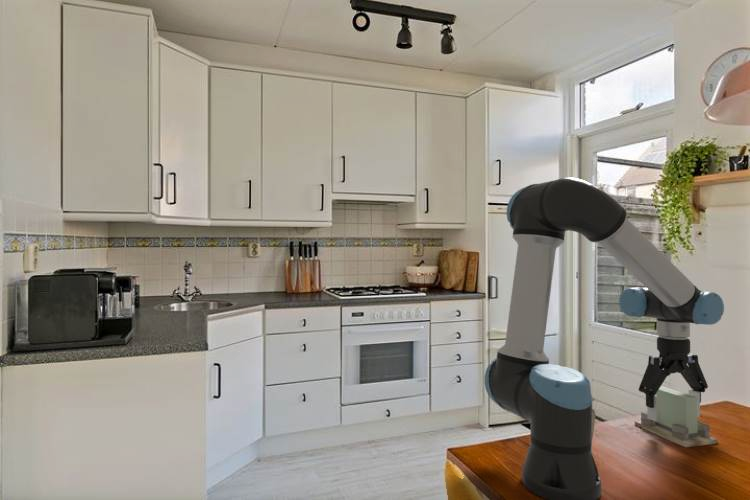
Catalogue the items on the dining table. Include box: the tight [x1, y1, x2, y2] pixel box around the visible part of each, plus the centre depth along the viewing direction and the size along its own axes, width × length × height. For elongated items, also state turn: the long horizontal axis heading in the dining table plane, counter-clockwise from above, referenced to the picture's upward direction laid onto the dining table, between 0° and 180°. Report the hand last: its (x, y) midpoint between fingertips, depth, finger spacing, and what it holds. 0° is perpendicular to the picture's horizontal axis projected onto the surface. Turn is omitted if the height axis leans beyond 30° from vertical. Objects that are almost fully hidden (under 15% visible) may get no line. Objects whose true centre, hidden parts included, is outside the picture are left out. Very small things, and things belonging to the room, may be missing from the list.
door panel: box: [651, 385, 699, 438], centre depth 126 cm, size 4×11×10 cm, turn 15°
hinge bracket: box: [634, 411, 719, 448], centre depth 126 cm, size 10×16×4 cm, turn 15°
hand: (673, 417), depth 126 cm, fingers open, 13 cm apart
